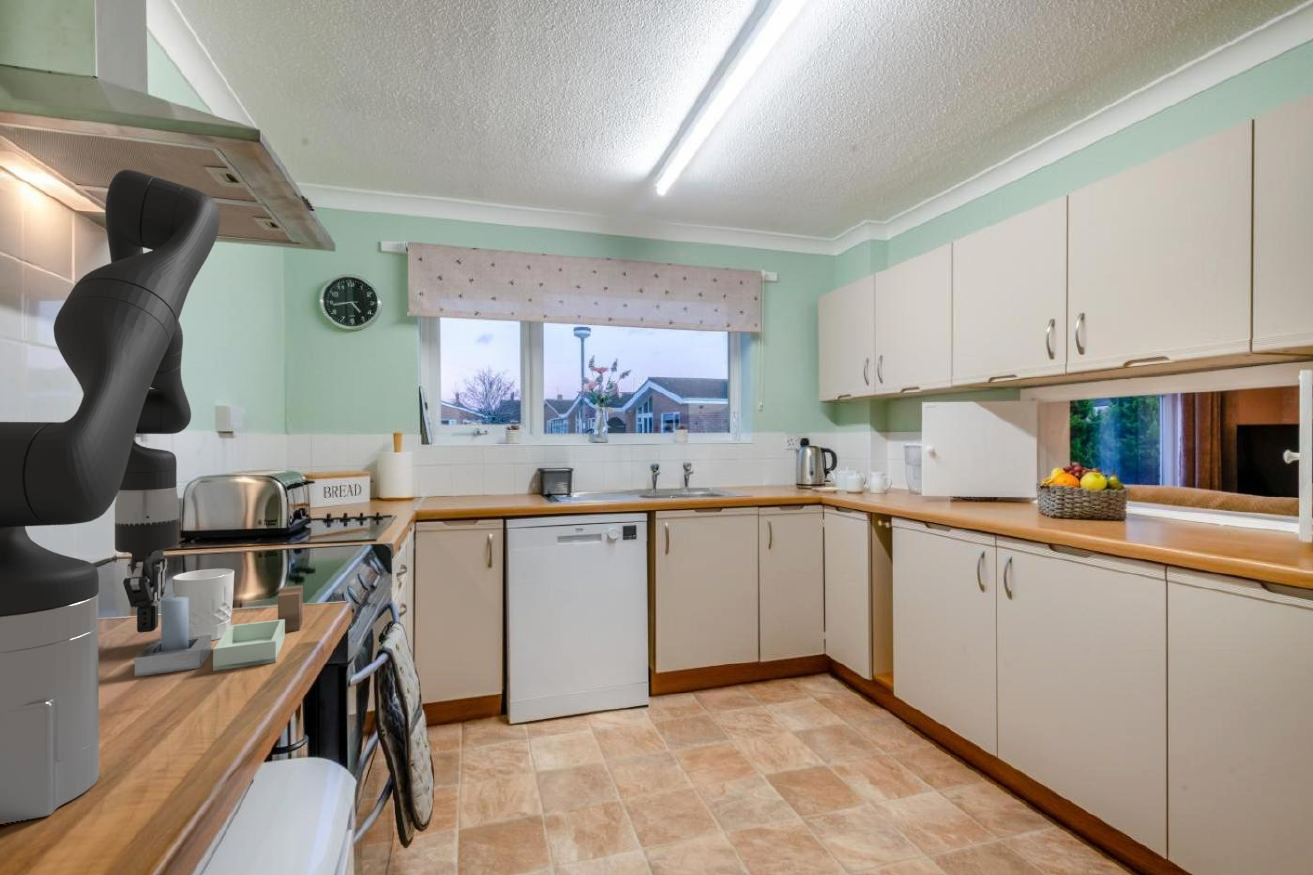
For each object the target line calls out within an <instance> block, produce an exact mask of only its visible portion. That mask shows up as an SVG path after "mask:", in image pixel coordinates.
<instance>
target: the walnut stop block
mask: <svg viewBox="0 0 1313 875" xmlns="http://www.w3.org/2000/svg"><path fill="white" fill-rule="evenodd" d="M303 589H304V588H303V585H292V586H282V587H281V589H280V591H279V593H278V595H277V620H282V619H285V633H288V632H294V631H301V630H300V629H301V627H302V624H303V621H304V612H303V611H304V610H303V608H304V606H303V605H304V604H303V602H304V601H303V600H304V598H303V597H304V596H303V591H304V590H303ZM302 620H303V621H302Z"/></svg>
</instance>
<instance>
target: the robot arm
mask: <svg viewBox="0 0 1313 875" xmlns="http://www.w3.org/2000/svg"><path fill="white" fill-rule="evenodd" d="M105 197H106V199H105V208H104V210H105V211H104V212H105V227H106V235H107V242H108V248H109V249H108V250H109V256H110V263H107V264H105V265H102V266H100V267H98V268H96V269H95V268H94V269H93V270H91V271H89V272H88V273H86V274H84V275H83V277H81V278H80V279H79V280H78V281H77V282H76V284H74V286H73V288H72V289H71V291H70V292H69V294H68V296H67V298H66V299H65V301H64V303H63V304H62V305H61V308H60V309H59V310H58V313H57V315H56V317H55V320H54V324H53V337H54V341H55V343H56V346H57V348H58V351H59V352H60V354H61V356H62V357H63V360H64V362H65V363H66V365H67V366H68V367H69V369H70V371H71V372H72V374H73V375H74V376H75V378H76V380H77V381H78V384H79V385H80V388H81V390H82V393H83V394H82V396H83V397H82V400H81V402H80V405H79V407H78V409H77V411H76V412H75V413H74V415H73V416H72V417H71V418H69V419H67V420H65V421H62V422H61V421H59V422H55V421H45V422H44V421H41V422H40V421H0V822H2V823H5V822H6V823H7V822H9V824H11V823H10V822H14V821H15V822H14V823H17V822H16V821H18V820H20V821H19V822H22V821H21V820H23V821H28V820H32V819H38V818H42V817H47V816H50V815H51V814H52V815H53V813H54V812H55V811H56V810H57V809H58V808H59V807H61V806H62V805H64V804H66V803H68V802H70V801H72V800H74V799H76V798H77V797H79V796H80V795H82V794H84V793H85V792H87V791H88V790H89V789H90V788H92V787H93V786H94V785H95V783H96V782H97V781H98V780H99V776H100V725H99V724H100V722H99V721H100V717H99V716H100V714H99V711H100V709H99V708H100V707H99V706H100V705H99V704H100V703H99V700H100V698H99V696H100V694H99V693H100V692H99V689H100V688H99V685H100V684H99V675H100V674H99V587H100V586H99V584H100V583H99V582H100V581H99V580H100V579H99V577H100V576H99V571H98V568H97V567H96V566H95V565H94V564H93V563H92V562H90V561H87V560H84V559H80V558H75V557H72V556H67V555H65V554H61V553H57V552H54V551H52V550H49V549H47V548H45V547H43V546H41V545H39V544H38V543H36V542H35V541H34V540H32V539H31V538H30V536H29V535H28V532H27V530H26V527H39V526H40V527H42V526H47V527H48V526H65V525H67V526H68V525H78V524H84V523H89V522H92V521H94V520H97V519H99V518H100V517H102V516H103V515H104V514H106V512H107V511H108V510H109V508H110V507H111V506H112V504H113V503H114V550H115V551H117V552H118V553H123V554H124V553H125V554H126V553H129V554H131V558H130V563H127V566H126V574H127V577H125V578H124V579H123V581H122V584H123V587H124V590H125V593H126V596H127V600H128V602H129V605H130V607H131V608H134V609H135V610H136V632H138V633H140V634H143V633H151V632H155V630H156V629H158V627H159V604H161V601H162V598H163V597H164V595H165V587H166V582H167V579H168V578H167V577H168V572H169V568H170V564H169V562H168V559H167V558H164V557H165V555H164V550H169V549H173V548H176V547H177V546H179V543H180V542H179V541H180V539H179V538H180V537H179V536H180V534H179V533H180V532H179V531H180V530H179V528H180V525H179V524H180V521H179V520H180V517H179V516H180V514H179V512H180V510H179V508H180V507H179V506H180V505H179V503H180V502H179V496H178V488H177V484H178V483H177V476H178V475H177V474H178V472H177V470H178V468H177V467H178V466H177V465H178V464H177V457H176V455H175V453H174V452H171V451H169V450H165V449H158V448H152V447H151V448H150V447H147V446H142V445H141V444H139V443H137V442H136V441H135V440H134V439H135V435H136V434H137V435H172V434H179V433H181V432H182V431H184V430H185V429H186V428H187V427H188V426H189V424H190V422H191V419H192V409H191V406H190V403H189V400H188V396H187V395H186V392H185V388H184V386H183V385H184V384H183V380H182V368H181V367H182V359H183V356H182V355H183V348H184V347H183V345H184V335H183V330H182V326H181V324H180V323H181V322H180V316H181V314H182V311H183V308H184V304H185V303H186V302H185V301H186V300H187V296H188V294H189V291H190V289H191V287H192V285H193V282H195V279H196V278H197V276H198V274H199V272H200V270H201V269H202V267H203V265H204V264H205V262H206V260H207V258H208V257H209V255H210V252H211V251H212V249H213V247H214V245H215V242H216V241H217V236H218V234H219V231H220V230H219V229H220V225H221V213H220V210H219V207H218V204H217V202H216V201H215V200H214V198H213V197H212V196H210V195H208V194H207V193H205V192H202V191H201V190H198V189H196V188H194V187H190V186H187V185H183V184H182V183H181V184H180V183H177V182H173V181H170V180H167V179H164V178H162V177H161V178H160V177H157V176H154V175H151V174H147V173H144V172H140V171H136V170H132V169H122V170H121V171H118V172H117V173H116V174H115V175H114V176H113V178H112V179H111V182H110V183H109V187H108V190H107V192H106V196H105ZM144 249H147V250H150V251H147V252H144ZM27 819H28V820H27Z"/></svg>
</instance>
